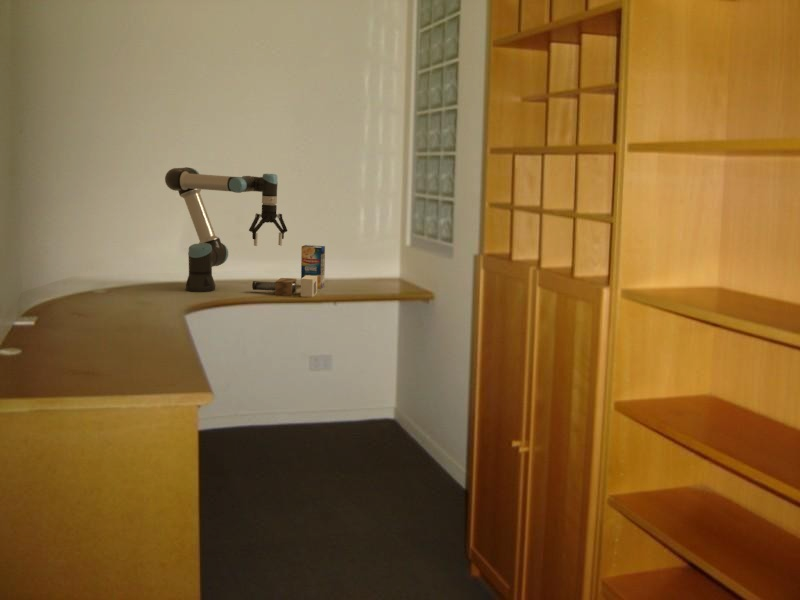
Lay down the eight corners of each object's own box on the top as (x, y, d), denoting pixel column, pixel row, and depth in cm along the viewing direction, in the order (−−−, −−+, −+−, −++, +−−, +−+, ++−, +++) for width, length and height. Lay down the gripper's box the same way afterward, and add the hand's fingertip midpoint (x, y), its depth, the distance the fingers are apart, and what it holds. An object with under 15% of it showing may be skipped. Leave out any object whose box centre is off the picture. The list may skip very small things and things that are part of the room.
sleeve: (275, 295, 461) (275, 281, 460) (281, 291, 473) (281, 278, 472) (290, 295, 461) (291, 282, 459) (296, 292, 472) (296, 278, 471)
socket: (300, 296, 460) (300, 278, 458) (305, 292, 472) (305, 275, 470) (312, 297, 459) (312, 279, 458) (317, 293, 471) (317, 275, 470)
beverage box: (320, 288, 485) (321, 247, 481) (300, 287, 487) (301, 246, 483) (324, 286, 491) (325, 246, 488) (305, 285, 494) (305, 245, 490)
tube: (252, 290, 466) (252, 281, 465) (254, 289, 471) (254, 280, 470) (294, 292, 464) (294, 283, 463) (296, 290, 468) (296, 282, 468)
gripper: (248, 204, 457) (247, 246, 461) (294, 205, 469) (293, 246, 473) (243, 203, 463) (242, 244, 467) (288, 203, 476) (287, 244, 480)
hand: (267, 245), depth 470 cm, fingers open, 13 cm apart
